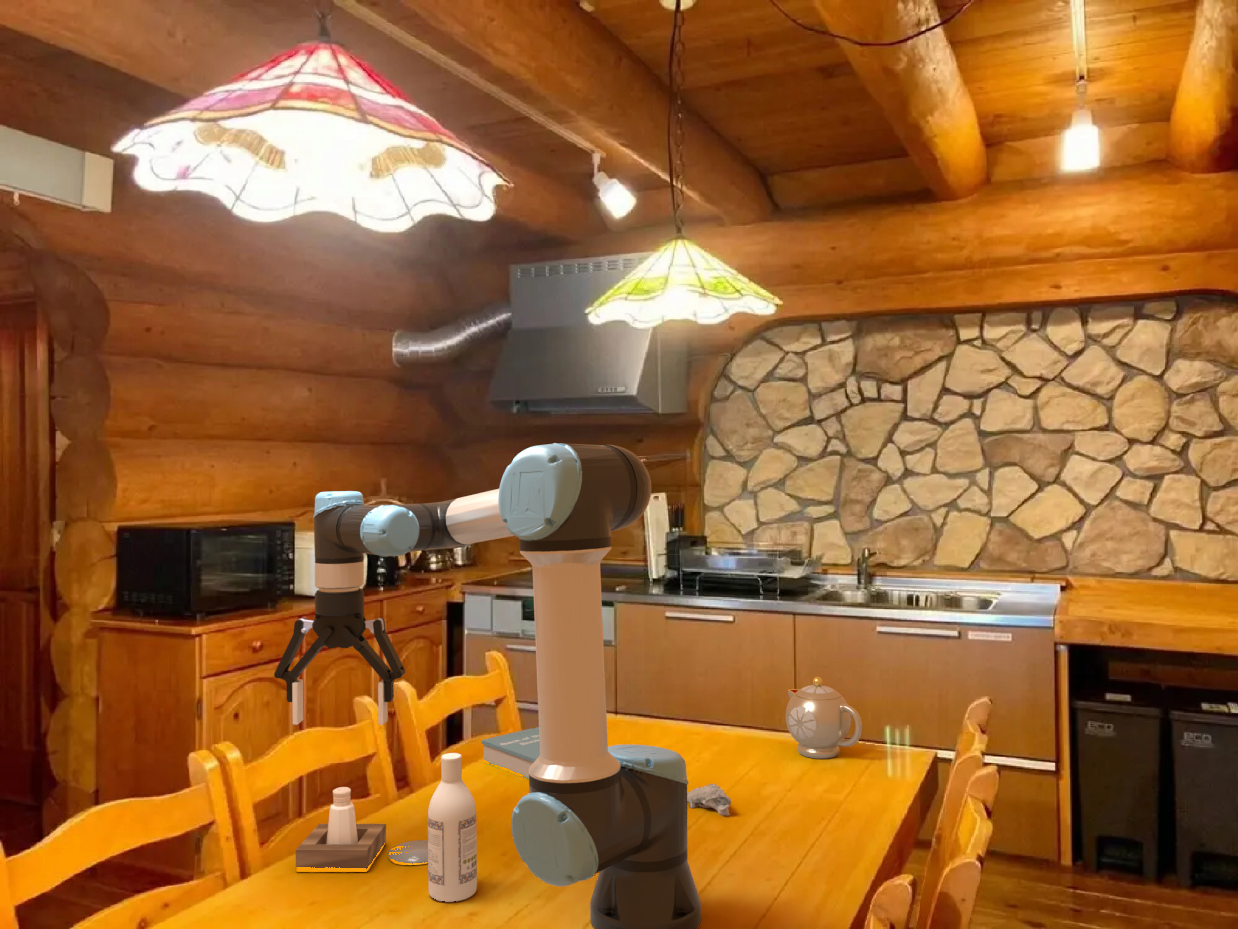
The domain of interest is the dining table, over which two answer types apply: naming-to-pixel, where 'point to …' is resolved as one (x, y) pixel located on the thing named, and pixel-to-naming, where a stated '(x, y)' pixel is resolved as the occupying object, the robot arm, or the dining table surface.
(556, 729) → the robot arm
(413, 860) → the coaster
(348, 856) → the socket block
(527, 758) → the book
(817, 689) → the teapot
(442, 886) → the bath foam
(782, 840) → the dining table surface
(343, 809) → the salt shaker
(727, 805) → the stone
